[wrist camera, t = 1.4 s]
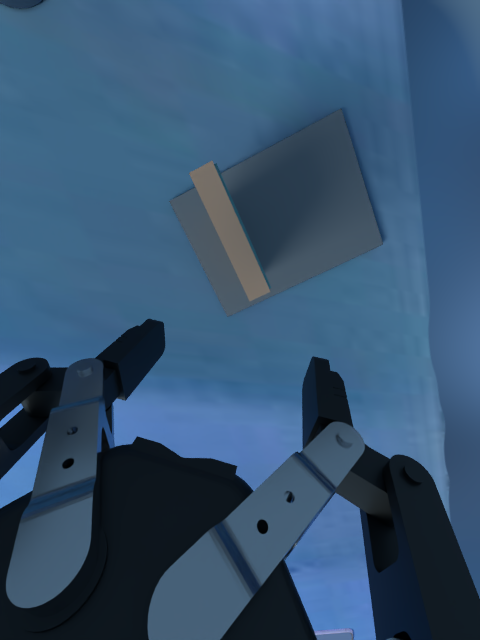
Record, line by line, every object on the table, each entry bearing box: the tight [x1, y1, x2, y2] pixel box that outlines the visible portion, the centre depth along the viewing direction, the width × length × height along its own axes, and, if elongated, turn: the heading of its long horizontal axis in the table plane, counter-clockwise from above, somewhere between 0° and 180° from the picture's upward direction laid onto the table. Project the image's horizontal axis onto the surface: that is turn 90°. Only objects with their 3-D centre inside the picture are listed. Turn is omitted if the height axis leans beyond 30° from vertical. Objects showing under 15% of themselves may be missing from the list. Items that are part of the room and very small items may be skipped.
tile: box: [189, 161, 271, 301], centre depth 24 cm, size 2×10×13 cm, turn 26°
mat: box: [169, 109, 383, 317], centre depth 30 cm, size 22×16×1 cm
